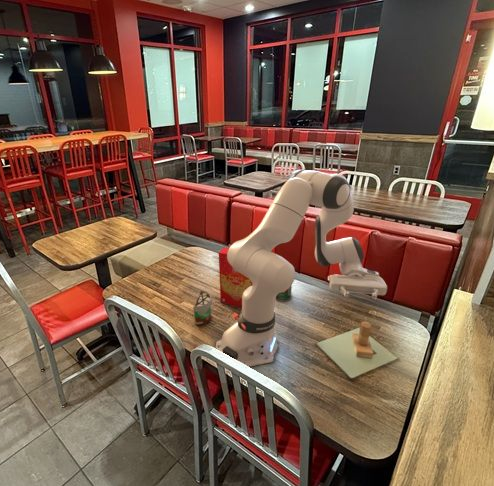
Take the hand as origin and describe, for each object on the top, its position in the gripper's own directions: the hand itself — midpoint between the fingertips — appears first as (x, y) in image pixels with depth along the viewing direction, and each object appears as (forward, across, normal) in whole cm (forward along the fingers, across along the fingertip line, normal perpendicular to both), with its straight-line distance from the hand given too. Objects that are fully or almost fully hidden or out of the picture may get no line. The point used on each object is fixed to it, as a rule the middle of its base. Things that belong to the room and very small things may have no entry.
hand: (360, 296), depth 114 cm
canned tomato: (-17, -28, +15) cm, 36 cm away
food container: (+5, -58, +15) cm, 60 cm away
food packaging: (-8, -47, +15) cm, 50 cm away
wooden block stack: (+12, 0, +14) cm, 18 cm away
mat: (+13, -2, +14) cm, 20 cm away
